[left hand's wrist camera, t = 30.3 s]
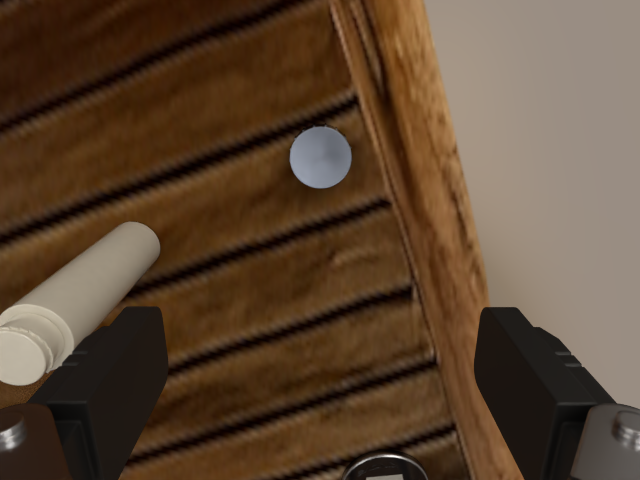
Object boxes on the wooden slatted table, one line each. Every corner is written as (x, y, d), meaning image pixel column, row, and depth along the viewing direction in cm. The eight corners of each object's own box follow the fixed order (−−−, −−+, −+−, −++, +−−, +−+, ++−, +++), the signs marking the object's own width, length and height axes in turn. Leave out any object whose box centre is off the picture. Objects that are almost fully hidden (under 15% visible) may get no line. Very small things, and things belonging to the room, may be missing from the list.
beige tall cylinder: (170, 251, 40) (72, 368, 24) (133, 277, 41) (15, 406, 25) (136, 211, 39) (9, 307, 23) (99, 239, 40) (-49, 350, 24)
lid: (294, 117, 36) (293, 120, 34) (355, 128, 37) (358, 131, 35) (286, 177, 38) (284, 184, 36) (344, 187, 38) (346, 193, 36)
